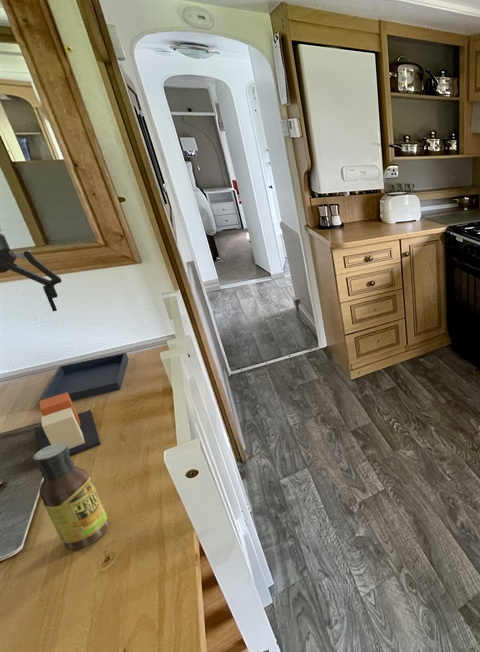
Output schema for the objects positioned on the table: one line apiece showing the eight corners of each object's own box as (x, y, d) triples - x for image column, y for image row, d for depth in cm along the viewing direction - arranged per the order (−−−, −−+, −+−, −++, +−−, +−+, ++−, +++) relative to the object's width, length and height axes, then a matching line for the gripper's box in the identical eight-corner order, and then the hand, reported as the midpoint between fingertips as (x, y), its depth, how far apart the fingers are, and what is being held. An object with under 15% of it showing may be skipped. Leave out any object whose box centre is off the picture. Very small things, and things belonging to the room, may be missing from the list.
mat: (41, 467, 85) (40, 464, 85) (38, 430, 96) (37, 427, 96) (100, 444, 92) (99, 441, 92) (91, 411, 103) (90, 409, 103)
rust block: (78, 417, 100) (67, 392, 97) (80, 425, 97) (69, 400, 94) (51, 426, 96) (39, 400, 93) (53, 435, 93) (40, 409, 90)
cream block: (82, 433, 94) (70, 407, 91) (84, 443, 91) (72, 416, 88) (54, 443, 91) (40, 417, 88) (55, 454, 88) (41, 426, 85)
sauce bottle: (97, 547, 69) (55, 463, 61) (56, 554, 67) (8, 470, 60) (118, 516, 74) (83, 436, 67) (81, 522, 73) (40, 441, 66)
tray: (63, 374, 120) (59, 366, 118) (129, 360, 128) (126, 352, 127) (44, 409, 104) (39, 400, 102) (121, 391, 112) (117, 382, 111)
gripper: (-117, 246, 78) (-66, 337, 86) (55, 230, 95) (85, 307, 103) (-110, 240, 82) (-62, 327, 90) (53, 226, 100) (82, 300, 108)
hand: (17, 317), depth 97 cm, fingers open, 13 cm apart
